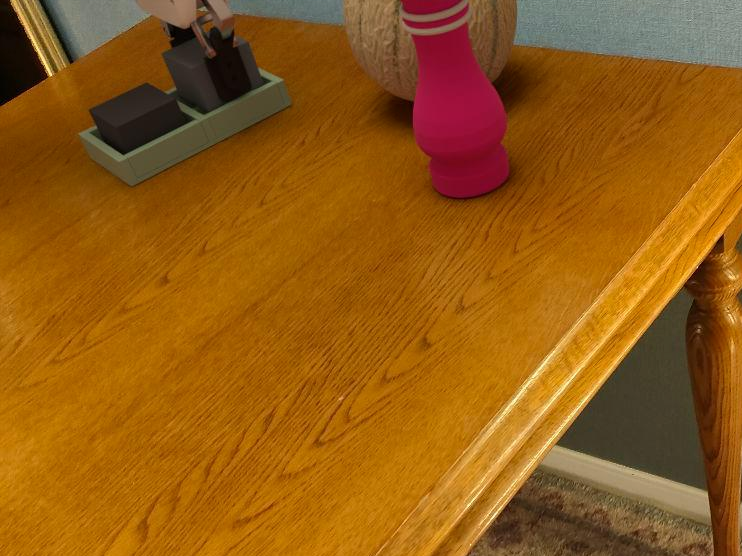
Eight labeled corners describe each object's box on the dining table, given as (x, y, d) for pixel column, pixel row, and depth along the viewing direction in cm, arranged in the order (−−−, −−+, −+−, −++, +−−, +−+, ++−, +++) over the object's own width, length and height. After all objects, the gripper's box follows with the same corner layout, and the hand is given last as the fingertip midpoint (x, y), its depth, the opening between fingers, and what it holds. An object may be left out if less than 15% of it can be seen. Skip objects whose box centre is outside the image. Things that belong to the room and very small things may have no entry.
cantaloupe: (342, 104, 93) (287, -75, 81) (471, 43, 97) (435, -135, 86) (425, 155, 84) (377, -38, 73) (563, 86, 88) (537, -106, 77)
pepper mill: (415, 173, 82) (344, -102, 67) (496, 145, 83) (443, -132, 68) (444, 212, 77) (374, -74, 62) (529, 181, 78) (480, -107, 64)
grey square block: (209, 112, 91) (191, 68, 88) (179, 96, 94) (160, 53, 91) (264, 84, 93) (248, 40, 90) (233, 69, 96) (216, 26, 93)
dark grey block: (136, 170, 89) (115, 127, 86) (108, 151, 93) (87, 109, 90) (194, 141, 91) (176, 98, 88) (165, 123, 95) (146, 81, 92)
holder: (131, 187, 88) (118, 161, 86) (90, 158, 93) (77, 133, 91) (292, 104, 94) (283, 79, 92) (245, 81, 99) (236, 57, 97)
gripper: (47, -134, 83) (144, 81, 97) (135, -106, 74) (230, 128, 87) (126, -163, 86) (210, 49, 99) (222, -141, 76) (300, 92, 90)
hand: (218, 84), depth 93 cm, fingers closed on grey square block, 5 cm apart
